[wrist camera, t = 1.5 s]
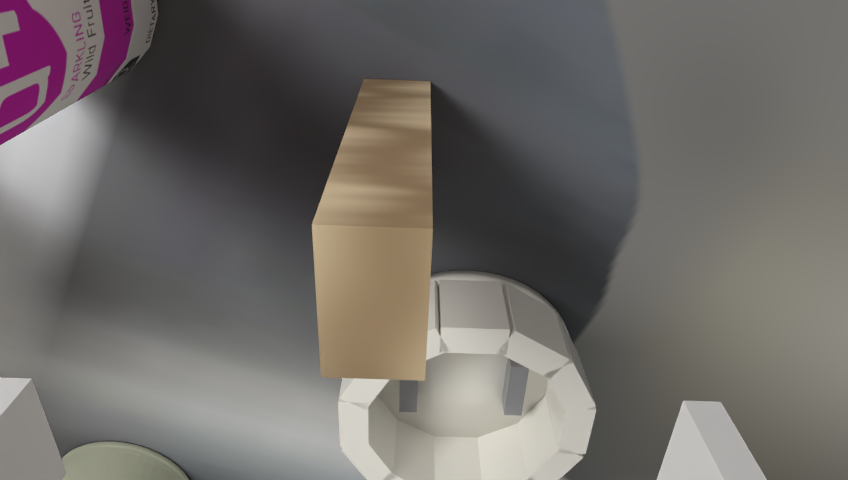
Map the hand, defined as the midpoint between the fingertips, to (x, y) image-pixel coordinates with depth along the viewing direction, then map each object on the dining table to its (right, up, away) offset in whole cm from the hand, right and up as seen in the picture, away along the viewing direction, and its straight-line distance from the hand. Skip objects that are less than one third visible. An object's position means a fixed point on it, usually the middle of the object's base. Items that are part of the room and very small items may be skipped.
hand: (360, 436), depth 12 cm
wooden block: (0, +9, +16) cm, 18 cm away
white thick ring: (+3, -3, +23) cm, 23 cm away
